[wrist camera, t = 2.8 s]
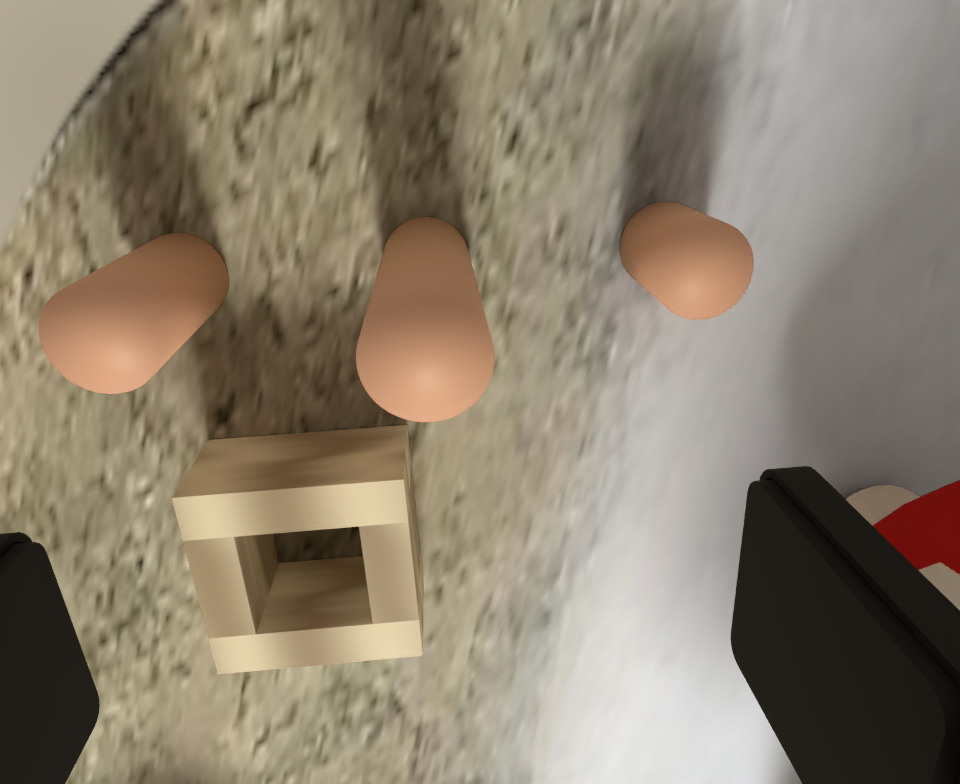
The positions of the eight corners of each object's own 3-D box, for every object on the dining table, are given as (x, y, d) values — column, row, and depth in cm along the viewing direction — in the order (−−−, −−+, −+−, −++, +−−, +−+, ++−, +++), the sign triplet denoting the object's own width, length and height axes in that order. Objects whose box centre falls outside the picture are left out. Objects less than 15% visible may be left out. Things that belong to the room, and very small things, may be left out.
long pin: (466, 214, 29) (491, 287, 18) (471, 299, 30) (497, 416, 19) (378, 219, 28) (347, 297, 17) (387, 305, 30) (364, 427, 19)
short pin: (706, 198, 29) (758, 217, 24) (699, 283, 30) (748, 316, 26) (620, 204, 29) (657, 224, 24) (618, 289, 30) (652, 323, 26)
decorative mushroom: (789, 667, 40) (981, 971, 26) (676, 501, 35) (839, 766, 21) (1026, 541, 37) (1377, 802, 23) (940, 343, 32) (1320, 526, 19)
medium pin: (219, 229, 28) (146, 278, 21) (236, 315, 30) (173, 389, 22) (128, 235, 28) (23, 287, 21) (150, 321, 29) (58, 397, 22)
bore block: (407, 424, 32) (403, 479, 28) (423, 583, 36) (423, 655, 31) (209, 439, 32) (171, 498, 27) (245, 598, 35) (218, 674, 31)
